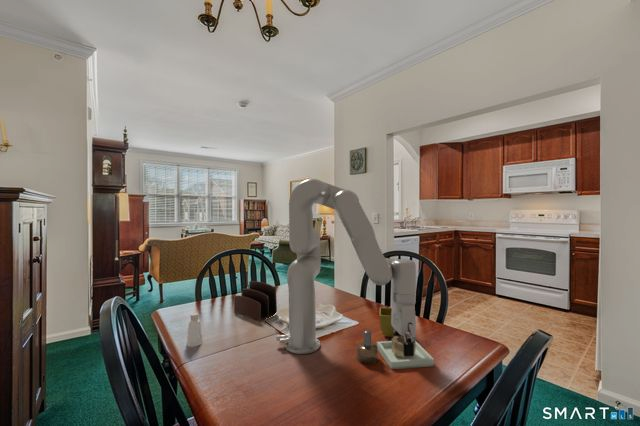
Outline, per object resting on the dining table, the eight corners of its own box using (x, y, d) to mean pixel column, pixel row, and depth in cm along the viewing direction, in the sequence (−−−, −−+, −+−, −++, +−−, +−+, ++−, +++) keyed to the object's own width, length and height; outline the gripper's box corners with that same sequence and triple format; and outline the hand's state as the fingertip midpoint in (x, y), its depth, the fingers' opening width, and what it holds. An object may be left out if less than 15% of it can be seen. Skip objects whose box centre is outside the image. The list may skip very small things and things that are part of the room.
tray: (391, 369, 92) (391, 362, 92) (376, 347, 106) (376, 341, 106) (434, 366, 94) (434, 359, 94) (414, 345, 108) (414, 339, 108)
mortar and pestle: (360, 365, 94) (360, 336, 94) (355, 354, 101) (355, 328, 101) (380, 363, 95) (380, 335, 95) (373, 353, 102) (374, 327, 102)
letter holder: (250, 306, 150) (250, 278, 150) (277, 315, 138) (277, 285, 137) (233, 311, 143) (233, 282, 142) (260, 322, 130) (259, 290, 130)
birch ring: (397, 357, 96) (397, 345, 96) (389, 347, 103) (389, 336, 103) (418, 356, 97) (418, 344, 97) (408, 346, 104) (409, 335, 104)
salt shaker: (205, 342, 111) (205, 312, 110) (194, 348, 106) (193, 317, 105) (195, 339, 113) (194, 310, 113) (183, 345, 108) (182, 315, 108)
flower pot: (403, 340, 112) (403, 316, 111) (379, 338, 113) (379, 315, 113) (401, 330, 120) (401, 308, 120) (379, 329, 122) (379, 307, 122)
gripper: (384, 290, 107) (383, 338, 108) (403, 306, 90) (403, 364, 91) (403, 289, 108) (403, 337, 109) (427, 305, 91) (426, 362, 92)
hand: (403, 349), depth 100 cm, fingers open, 7 cm apart
